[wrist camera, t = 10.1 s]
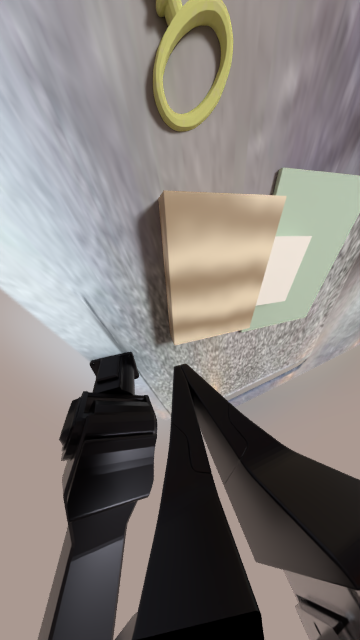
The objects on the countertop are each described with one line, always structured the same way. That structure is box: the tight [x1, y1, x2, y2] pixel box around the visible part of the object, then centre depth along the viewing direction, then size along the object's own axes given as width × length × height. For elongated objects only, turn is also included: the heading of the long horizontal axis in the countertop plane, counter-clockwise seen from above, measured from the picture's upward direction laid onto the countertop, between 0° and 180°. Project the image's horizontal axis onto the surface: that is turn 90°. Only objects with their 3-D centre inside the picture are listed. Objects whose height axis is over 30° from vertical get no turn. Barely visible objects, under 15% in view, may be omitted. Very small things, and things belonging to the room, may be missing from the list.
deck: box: [158, 191, 287, 345], centre depth 20 cm, size 18×14×3 cm
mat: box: [240, 168, 360, 332], centre depth 25 cm, size 24×18×1 cm
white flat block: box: [256, 236, 312, 306], centre depth 22 cm, size 10×7×2 cm
